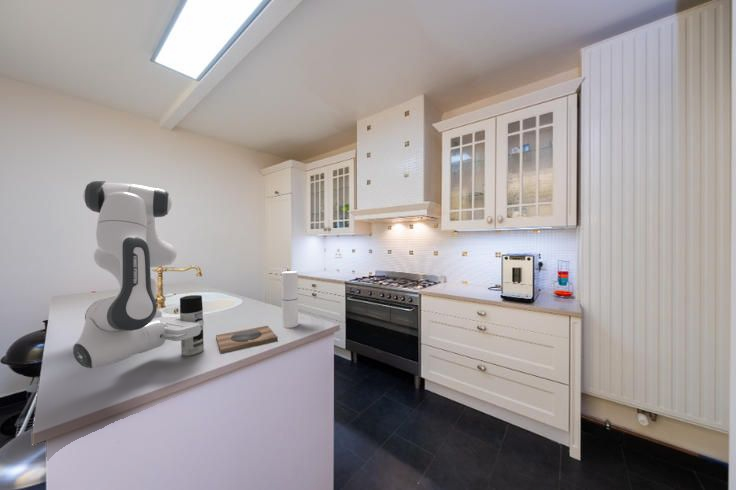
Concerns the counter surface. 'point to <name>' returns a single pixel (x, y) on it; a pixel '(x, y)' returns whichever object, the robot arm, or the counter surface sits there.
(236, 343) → the board
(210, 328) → the counter surface
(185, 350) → the spray can
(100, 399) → the counter surface
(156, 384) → the counter surface
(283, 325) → the cylindrical container
